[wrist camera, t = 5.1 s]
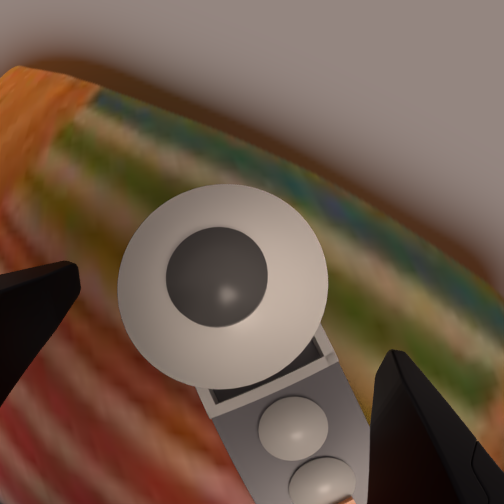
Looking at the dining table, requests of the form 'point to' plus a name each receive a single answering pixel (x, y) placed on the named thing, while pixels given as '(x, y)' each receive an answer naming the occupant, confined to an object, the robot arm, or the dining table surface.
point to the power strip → (296, 431)
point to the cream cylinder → (222, 286)
